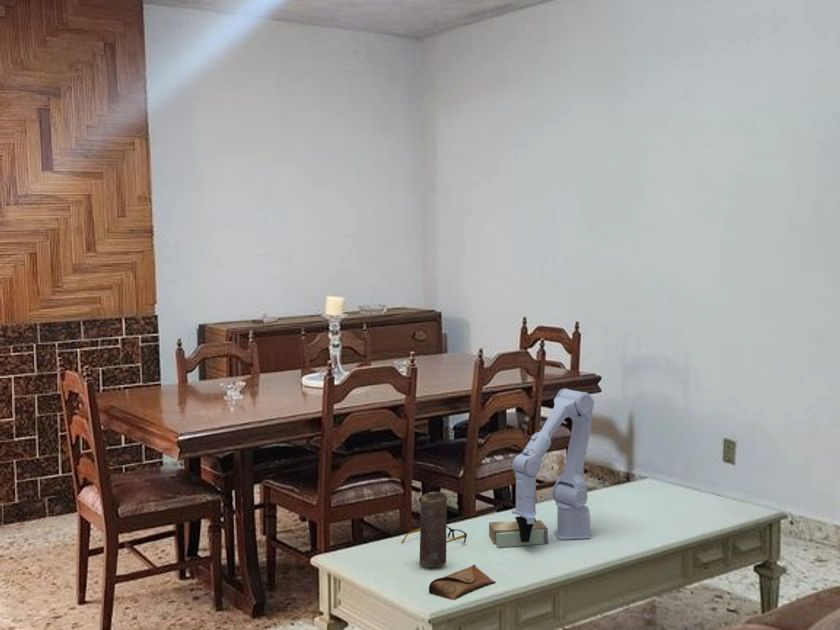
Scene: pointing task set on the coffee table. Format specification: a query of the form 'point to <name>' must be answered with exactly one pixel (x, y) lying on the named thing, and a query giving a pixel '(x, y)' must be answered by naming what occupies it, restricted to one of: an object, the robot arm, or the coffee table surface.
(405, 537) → the eyeglasses
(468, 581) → the sunglasses case
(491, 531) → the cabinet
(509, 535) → the sage green panel
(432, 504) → the candle
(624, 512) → the coffee table surface
